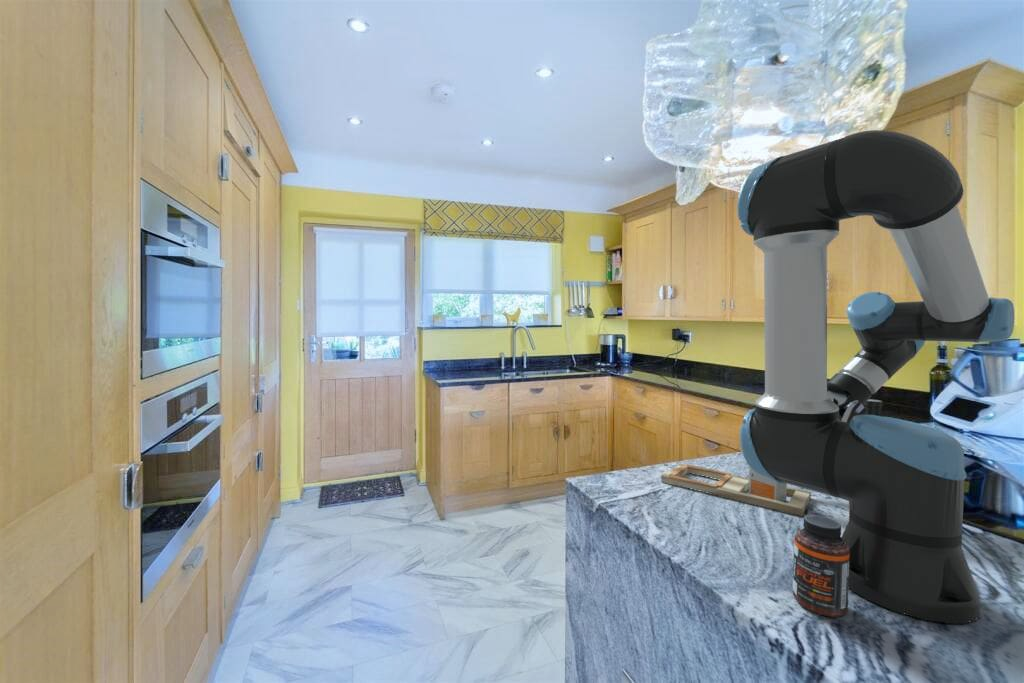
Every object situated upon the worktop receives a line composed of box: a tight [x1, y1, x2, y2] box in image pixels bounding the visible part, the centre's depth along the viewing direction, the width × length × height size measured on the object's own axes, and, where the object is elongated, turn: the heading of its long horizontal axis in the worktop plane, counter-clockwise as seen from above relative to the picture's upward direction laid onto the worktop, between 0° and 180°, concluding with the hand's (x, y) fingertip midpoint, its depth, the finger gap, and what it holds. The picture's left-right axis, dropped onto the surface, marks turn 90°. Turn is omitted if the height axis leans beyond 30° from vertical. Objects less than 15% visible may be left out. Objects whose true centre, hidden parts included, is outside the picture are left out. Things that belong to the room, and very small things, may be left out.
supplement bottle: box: [792, 514, 850, 618], centre depth 56 cm, size 6×6×11 cm
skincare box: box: [748, 465, 788, 502], centre depth 91 cm, size 6×4×12 cm
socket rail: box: [660, 463, 812, 517], centre depth 96 cm, size 12×28×2 cm, turn 48°
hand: (782, 452), depth 92 cm, fingers open, 13 cm apart
